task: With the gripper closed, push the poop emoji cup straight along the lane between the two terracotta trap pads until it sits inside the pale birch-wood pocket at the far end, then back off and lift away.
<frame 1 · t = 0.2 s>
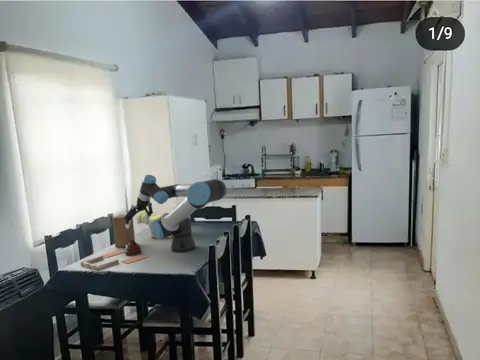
hand: (135, 225, 262), 15 cm above the table, tool tilted 30°, fingers open, 13 cm apart
wooden block: (125, 245, 273), on the table
trap pads: (123, 256, 247), on the table
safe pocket: (101, 263, 236), on the table
slatted curved stool: (163, 235, 292), on the table
poop emoji: (133, 254, 252), on the table
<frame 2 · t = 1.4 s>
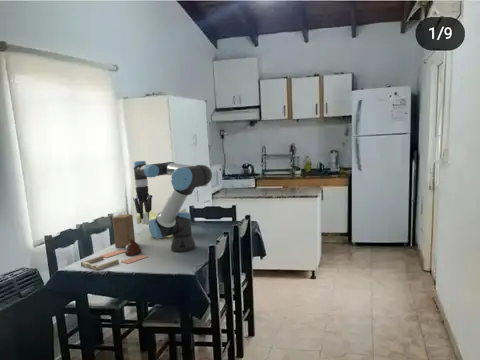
hand: (145, 223, 259), 16 cm above the table, tool pointing down, fingers open, 2 cm apart
nothing on the table moved.
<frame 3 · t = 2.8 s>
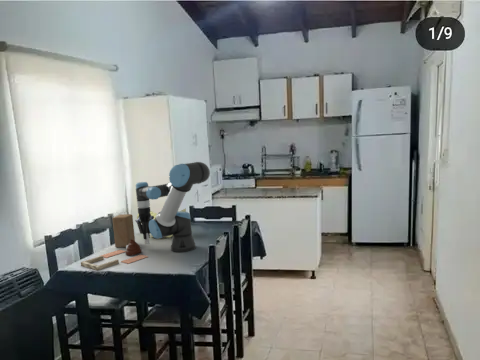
hand: (147, 243, 261), 3 cm above the table, tool pointing down, fingers closed
nothing on the table moved.
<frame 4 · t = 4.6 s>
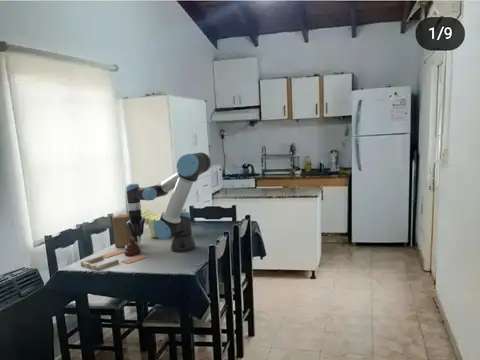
hand: (138, 246, 255), 3 cm above the table, tool pointing down, fingers closed
poop emoji: (132, 254, 252), on the table, touching gripper
everything else where it was.
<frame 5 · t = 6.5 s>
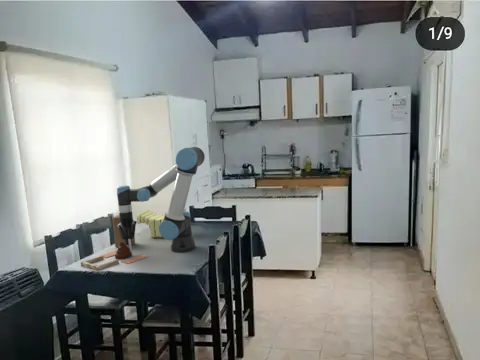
hand: (129, 249, 250), 3 cm above the table, tool pointing down, fingers closed
poop emoji: (123, 257, 247), on the table, touching gripper
everything else where it was.
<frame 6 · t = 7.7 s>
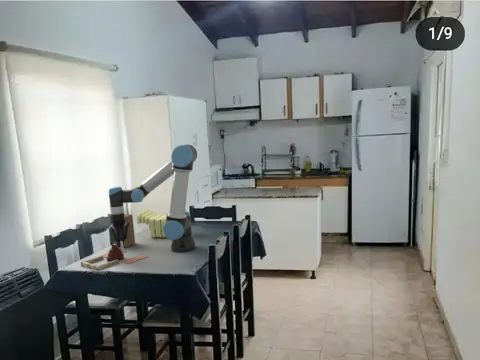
hand: (121, 252, 246), 3 cm above the table, tool pointing down, fingers closed
poop emoji: (115, 259, 243), on the table, touching gripper
everything else where it was.
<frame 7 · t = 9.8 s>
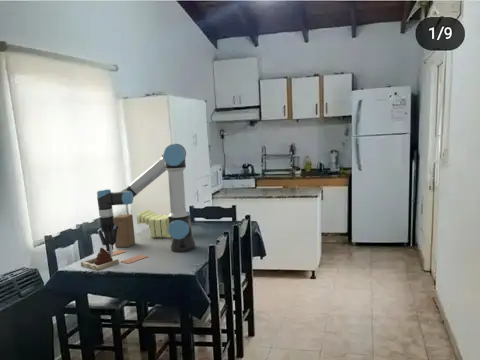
hand: (110, 255, 240), 3 cm above the table, tool pointing down, fingers closed
poop emoji: (103, 263, 237), on the table, touching gripper
everything else where it was.
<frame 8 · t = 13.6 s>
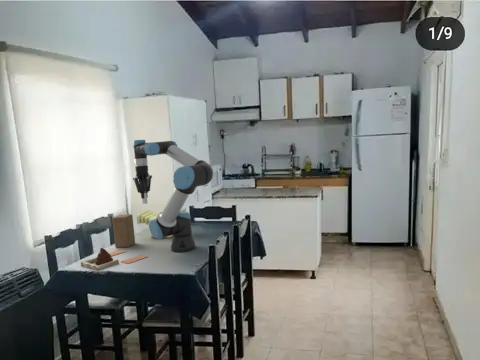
hand: (145, 203, 255), 29 cm above the table, tool pointing down, fingers closed
poop emoji: (104, 263, 237), on the table
everything else where it was.
at the end: poop emoji inside the target area on the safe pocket (3.1 cm from its centre), point 0.0 cm above the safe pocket's base; poop emoji tilted 0°; poop emoji touching table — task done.
